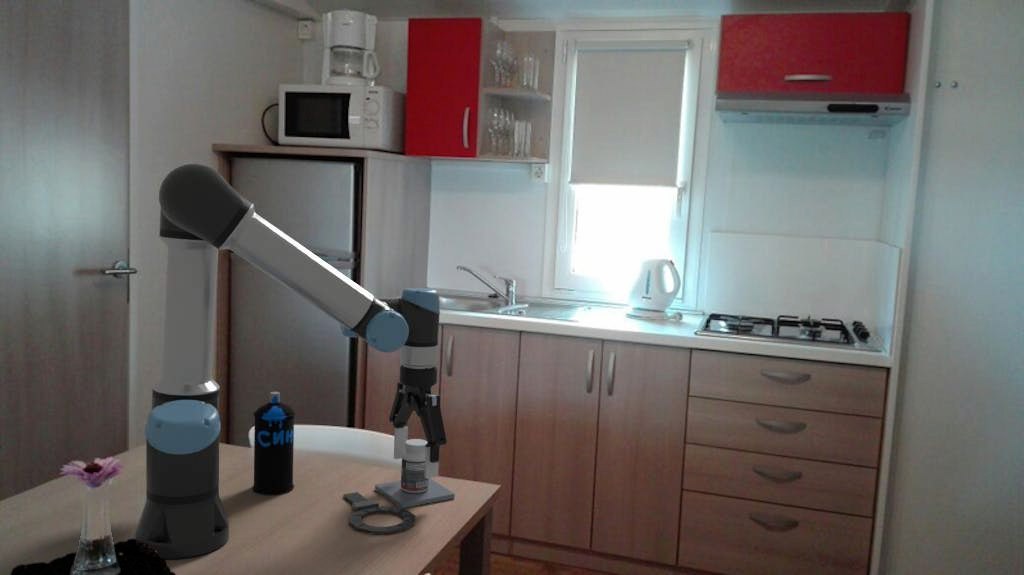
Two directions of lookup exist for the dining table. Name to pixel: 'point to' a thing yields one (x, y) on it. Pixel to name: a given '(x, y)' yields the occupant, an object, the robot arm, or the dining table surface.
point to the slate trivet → (414, 494)
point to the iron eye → (372, 507)
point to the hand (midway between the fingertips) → (415, 467)
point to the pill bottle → (414, 467)
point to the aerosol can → (273, 447)
